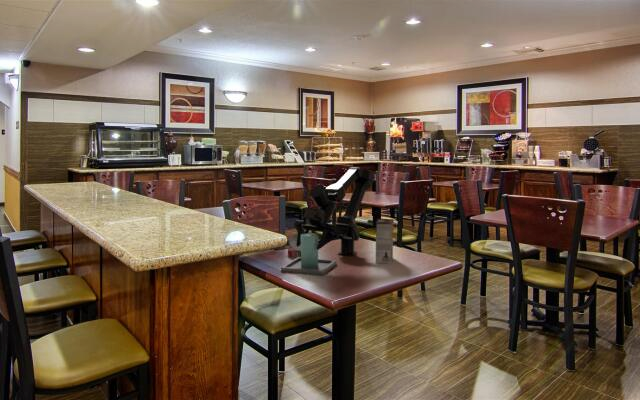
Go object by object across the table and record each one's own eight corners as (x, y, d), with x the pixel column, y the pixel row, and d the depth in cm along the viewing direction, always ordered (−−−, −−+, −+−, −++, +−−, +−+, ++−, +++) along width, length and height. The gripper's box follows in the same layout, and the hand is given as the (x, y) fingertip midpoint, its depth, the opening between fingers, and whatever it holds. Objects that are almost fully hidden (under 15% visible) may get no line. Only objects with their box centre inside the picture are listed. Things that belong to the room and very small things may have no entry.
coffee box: (377, 257, 188) (377, 218, 186) (393, 258, 186) (393, 218, 184) (375, 263, 179) (375, 222, 177) (391, 263, 177) (392, 222, 175)
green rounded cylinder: (313, 263, 176) (312, 232, 175) (321, 267, 171) (321, 235, 169) (298, 265, 173) (297, 234, 171) (306, 269, 168) (305, 237, 166)
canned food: (307, 263, 196) (318, 243, 196) (304, 267, 186) (316, 246, 186) (284, 250, 197) (295, 230, 196) (280, 254, 187) (291, 232, 186)
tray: (298, 261, 182) (298, 257, 182) (336, 264, 177) (336, 260, 176) (281, 271, 167) (281, 267, 167) (322, 275, 162) (322, 271, 162)
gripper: (295, 199, 177) (277, 232, 170) (336, 202, 167) (318, 237, 159) (307, 216, 185) (291, 249, 177) (347, 221, 174) (331, 255, 166)
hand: (307, 247), depth 170 cm, fingers open, 9 cm apart
